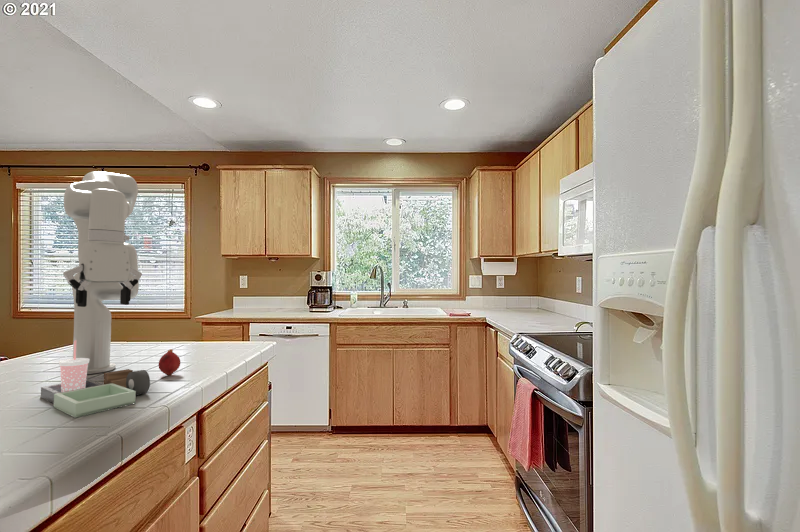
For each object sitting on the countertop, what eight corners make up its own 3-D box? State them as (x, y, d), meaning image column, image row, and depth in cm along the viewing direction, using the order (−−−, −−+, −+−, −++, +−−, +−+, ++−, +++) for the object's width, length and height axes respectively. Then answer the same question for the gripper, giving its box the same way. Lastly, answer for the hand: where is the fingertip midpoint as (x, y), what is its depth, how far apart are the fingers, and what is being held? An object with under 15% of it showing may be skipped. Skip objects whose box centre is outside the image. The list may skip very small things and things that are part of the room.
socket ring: (40, 397, 102) (41, 387, 102) (87, 388, 111) (88, 378, 111) (56, 404, 97) (56, 394, 97) (104, 394, 105) (105, 385, 105)
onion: (170, 378, 123) (171, 351, 123) (153, 377, 124) (154, 350, 124) (184, 374, 128) (184, 348, 128) (168, 372, 129) (168, 347, 130)
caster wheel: (124, 393, 107) (125, 370, 107) (138, 390, 109) (139, 368, 110) (136, 398, 103) (137, 374, 103) (150, 394, 106) (151, 371, 106)
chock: (103, 390, 110) (103, 373, 110) (127, 385, 115) (128, 369, 115) (111, 393, 108) (112, 376, 108) (136, 388, 113) (137, 371, 113)
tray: (53, 407, 95) (54, 394, 95) (112, 394, 105) (112, 383, 106) (75, 417, 89) (75, 403, 89) (135, 403, 99) (135, 391, 99)
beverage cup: (85, 398, 103) (87, 341, 103) (54, 400, 100) (56, 342, 100) (90, 391, 108) (92, 338, 108) (61, 394, 105) (63, 339, 106)
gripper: (134, 241, 115) (132, 302, 114) (58, 235, 100) (56, 306, 99) (149, 240, 111) (147, 304, 110) (72, 234, 96) (70, 308, 96)
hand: (104, 305), depth 105 cm, fingers open, 9 cm apart
